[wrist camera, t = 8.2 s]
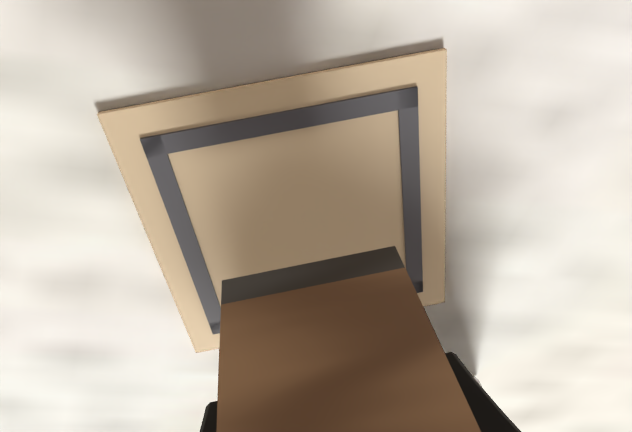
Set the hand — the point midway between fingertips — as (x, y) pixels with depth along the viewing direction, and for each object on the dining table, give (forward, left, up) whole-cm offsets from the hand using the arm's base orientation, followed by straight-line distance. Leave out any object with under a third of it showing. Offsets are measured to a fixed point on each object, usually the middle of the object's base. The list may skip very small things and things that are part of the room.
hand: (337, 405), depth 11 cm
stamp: (0, 0, -2) cm, 2 cm away
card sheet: (0, 0, -7) cm, 7 cm away
